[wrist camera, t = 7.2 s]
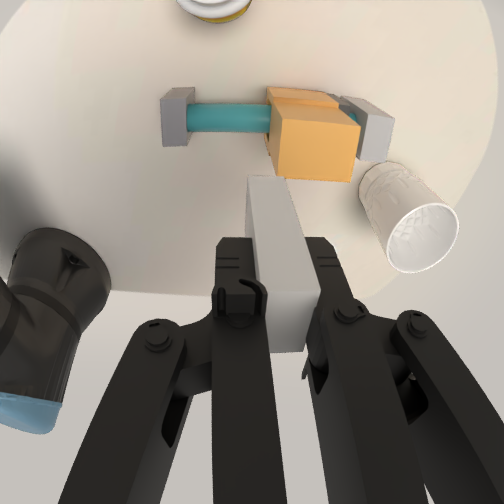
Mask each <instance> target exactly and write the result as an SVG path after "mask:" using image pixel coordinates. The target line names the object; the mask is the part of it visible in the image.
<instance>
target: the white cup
mask: <svg viewBox="0 0 504 504" xmlns="http://www.w3.org/2000/svg"><path fill="white" fill-rule="evenodd" d="M359 199H360V201H361V203H362V205H363V207H364V209H365V211H366V214H367V217H368V219H369V221H370V224H371V226H372V228H373V230H374V232H375V234H376V236H377V238H378V240H379V242H380V244H381V246H382V248H383V251H384V253H385V255H386V257H387V259H388V261H389V263H390V265H391V266H392V267H393V268H395V269H396V270H398V271H400V272H404V273H416V272H421V271H424V270H426V269H428V268H431V267H432V266H434V265H436V264H437V263H438V262H440V261H441V260H442V259H443V258H444V257H445V256H446V255H447V254H448V252H449V251H450V250H451V248H452V247H453V245H454V243H455V241H456V238H457V235H458V230H459V222H458V218H457V215H456V213H455V212H454V210H453V209H452V208H451V207H450V206H449V205H448V204H447V203H445V202H444V201H443V200H442V199H441V198H440V197H439V196H438V195H437V194H436V193H435V192H434V191H433V190H431V189H430V188H429V187H428V186H427V185H426V184H425V183H424V182H423V181H421V180H420V179H419V178H417V177H416V176H415V175H413V174H411V173H410V172H409V171H407V170H406V169H405V168H404V167H403V166H402V165H400V164H398V163H393V162H385V163H381V164H377V165H375V166H374V167H373V168H371V169H370V170H369V171H368V172H367V173H365V175H364V177H363V179H362V181H361V183H360V185H359Z"/></svg>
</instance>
